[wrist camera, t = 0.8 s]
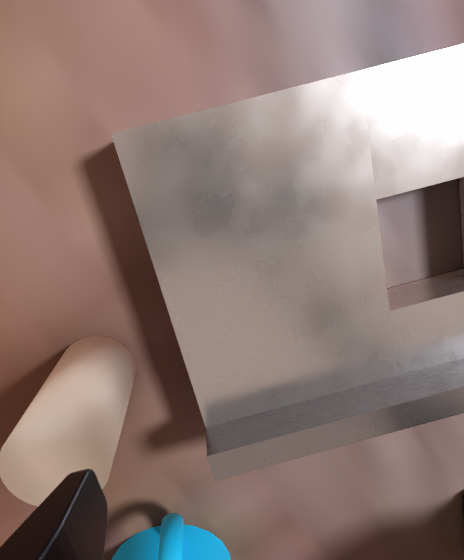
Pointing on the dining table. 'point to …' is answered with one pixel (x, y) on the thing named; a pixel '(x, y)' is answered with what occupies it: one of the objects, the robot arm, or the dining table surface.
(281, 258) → the jig
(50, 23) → the dining table surface
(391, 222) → the dining table surface
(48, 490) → the cream domed knob
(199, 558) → the mug
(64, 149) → the dining table surface
